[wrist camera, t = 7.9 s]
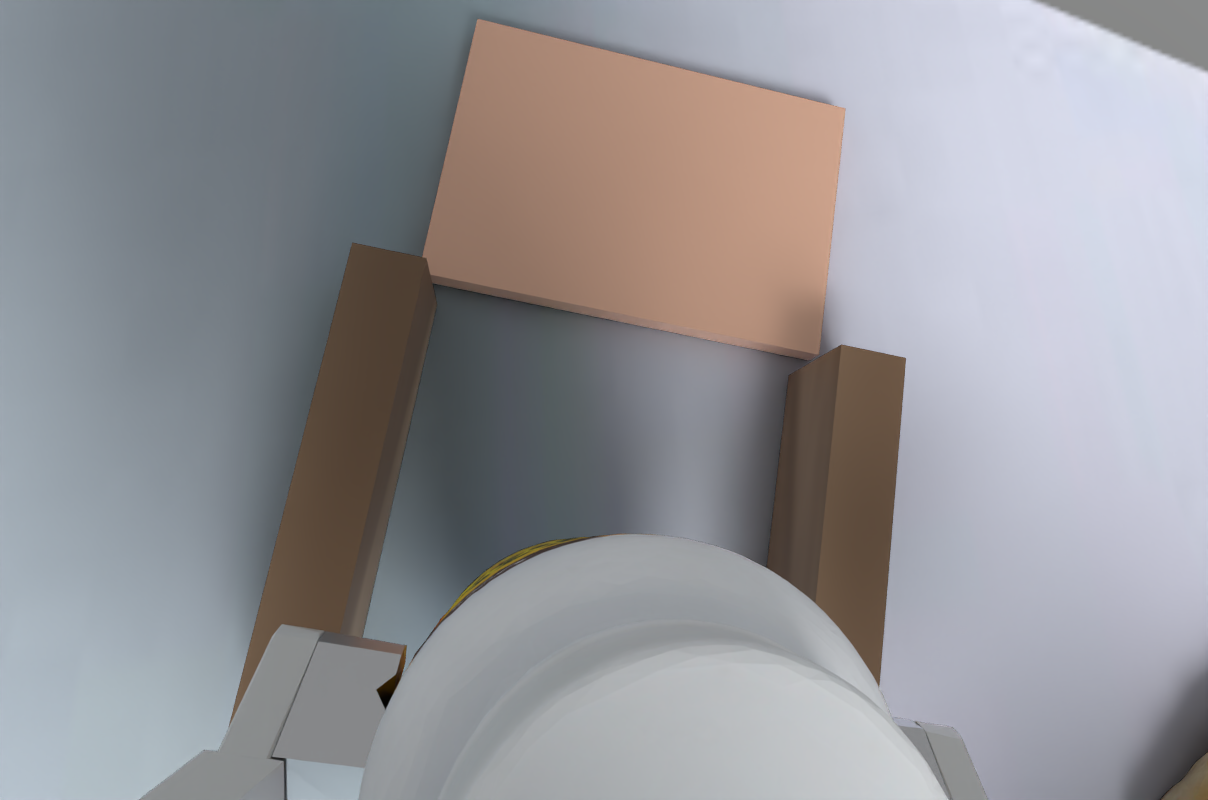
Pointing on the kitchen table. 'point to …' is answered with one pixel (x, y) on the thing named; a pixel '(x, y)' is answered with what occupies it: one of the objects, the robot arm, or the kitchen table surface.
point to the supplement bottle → (639, 687)
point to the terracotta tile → (637, 193)
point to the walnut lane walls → (381, 424)
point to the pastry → (1191, 783)
